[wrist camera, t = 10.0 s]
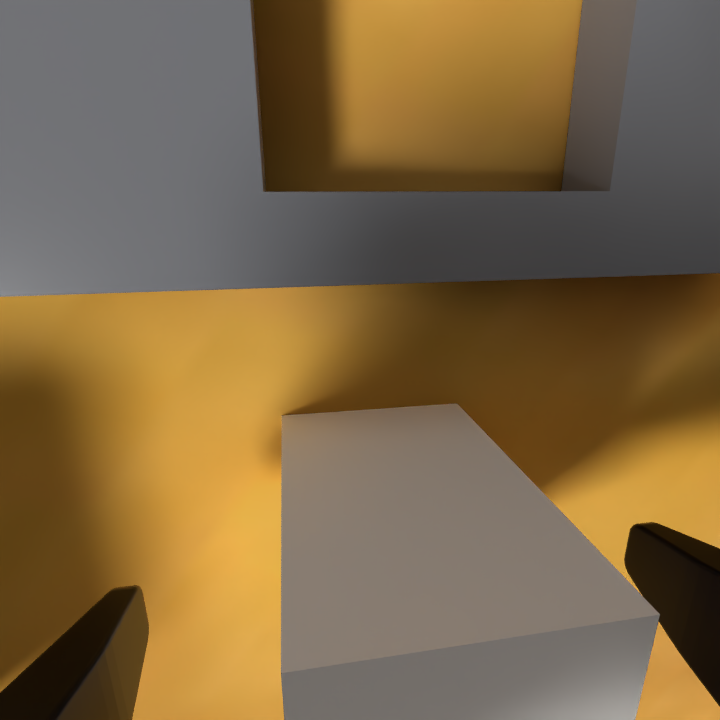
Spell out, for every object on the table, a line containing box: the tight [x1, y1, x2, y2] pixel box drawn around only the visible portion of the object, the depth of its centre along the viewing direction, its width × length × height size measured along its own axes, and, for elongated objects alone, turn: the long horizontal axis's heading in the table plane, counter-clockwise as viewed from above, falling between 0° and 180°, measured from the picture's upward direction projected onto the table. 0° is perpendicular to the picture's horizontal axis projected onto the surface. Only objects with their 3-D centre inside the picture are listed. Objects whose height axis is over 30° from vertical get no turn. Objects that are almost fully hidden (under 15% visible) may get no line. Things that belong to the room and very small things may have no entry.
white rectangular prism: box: [281, 403, 660, 720], centre depth 8 cm, size 4×4×6 cm
